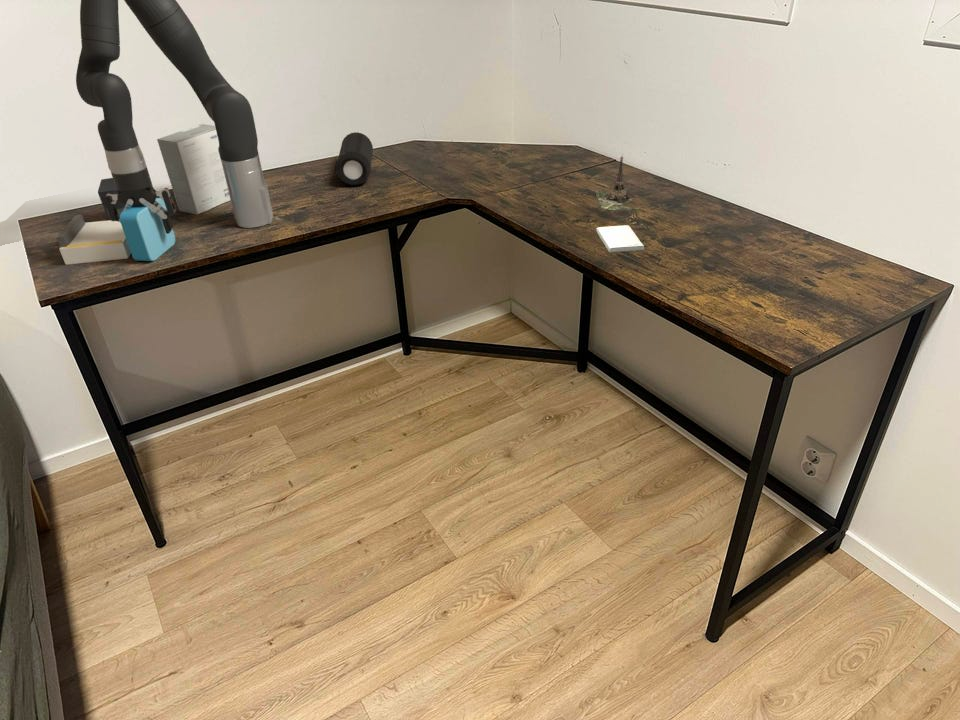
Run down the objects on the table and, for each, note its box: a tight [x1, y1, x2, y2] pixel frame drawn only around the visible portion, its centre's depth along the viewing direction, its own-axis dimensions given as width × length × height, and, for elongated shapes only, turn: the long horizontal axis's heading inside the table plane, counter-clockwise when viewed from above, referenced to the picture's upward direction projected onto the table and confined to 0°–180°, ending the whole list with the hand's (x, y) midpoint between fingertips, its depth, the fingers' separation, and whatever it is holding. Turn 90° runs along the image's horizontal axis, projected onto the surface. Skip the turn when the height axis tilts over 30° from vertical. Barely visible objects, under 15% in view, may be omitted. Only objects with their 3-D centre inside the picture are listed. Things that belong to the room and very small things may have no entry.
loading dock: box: [56, 214, 132, 265], centre depth 164 cm, size 14×16×6 cm
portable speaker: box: [335, 131, 374, 186], centre depth 204 cm, size 26×10×10 cm, turn 5°
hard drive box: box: [156, 123, 231, 216], centre depth 183 cm, size 16×8×20 cm, turn 150°
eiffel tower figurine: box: [594, 155, 639, 211], centre depth 178 cm, size 15×10×13 cm
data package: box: [120, 197, 176, 262], centre depth 159 cm, size 12×4×12 cm, turn 173°
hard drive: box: [595, 224, 645, 253], centre depth 160 cm, size 2×8×12 cm
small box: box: [97, 177, 125, 221], centre depth 177 cm, size 11×6×10 cm, turn 21°
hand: (150, 234), depth 160 cm, fingers open, 8 cm apart
